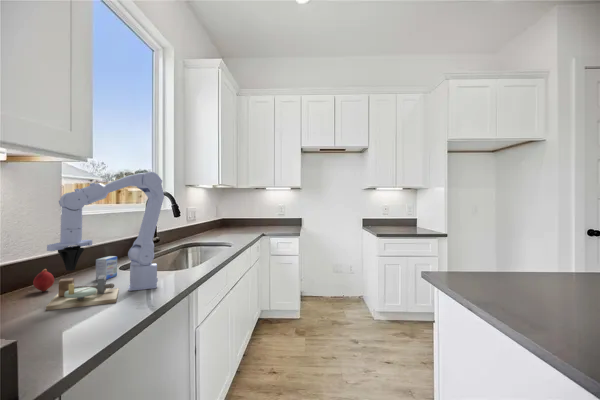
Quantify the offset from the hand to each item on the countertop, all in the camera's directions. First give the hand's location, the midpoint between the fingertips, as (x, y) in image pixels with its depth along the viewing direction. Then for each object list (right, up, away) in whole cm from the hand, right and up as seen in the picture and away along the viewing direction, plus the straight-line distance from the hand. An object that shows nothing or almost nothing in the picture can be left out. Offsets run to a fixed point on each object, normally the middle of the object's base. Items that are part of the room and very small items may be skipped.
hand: (70, 270), depth 102 cm
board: (+5, -10, +1) cm, 11 cm away
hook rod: (+3, -9, +4) cm, 10 cm away
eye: (+7, -9, +6) cm, 12 cm away
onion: (-17, -10, +10) cm, 22 cm away
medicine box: (-7, -11, +31) cm, 34 cm away
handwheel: (+5, -9, -3) cm, 10 cm away
